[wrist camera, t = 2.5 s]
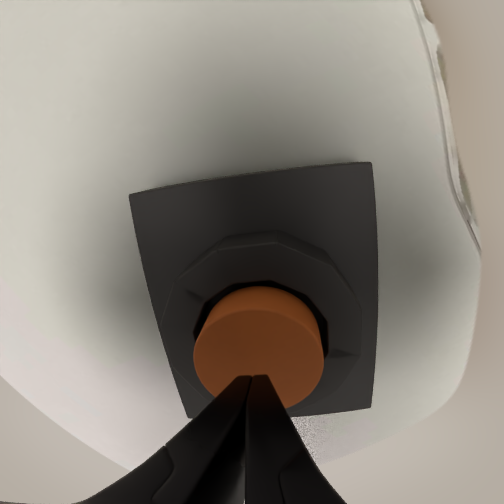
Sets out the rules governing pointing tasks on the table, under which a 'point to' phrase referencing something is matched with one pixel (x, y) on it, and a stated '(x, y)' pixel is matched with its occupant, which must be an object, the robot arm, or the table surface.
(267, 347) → the power button
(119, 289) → the table surface
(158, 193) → the orange push button base
